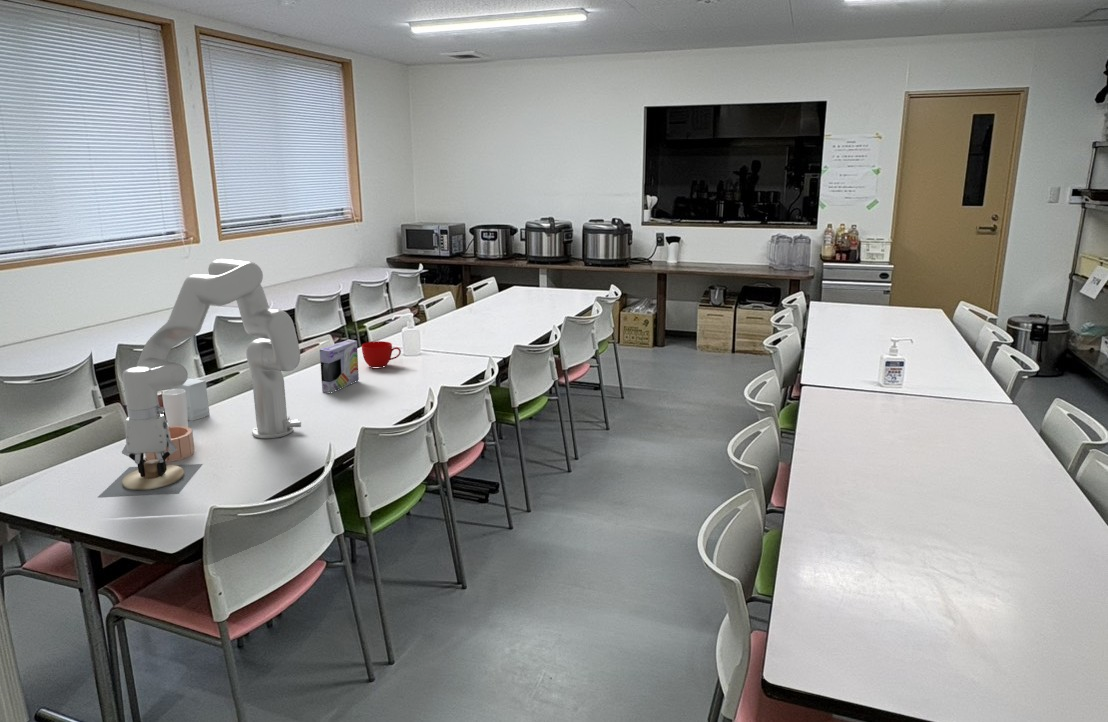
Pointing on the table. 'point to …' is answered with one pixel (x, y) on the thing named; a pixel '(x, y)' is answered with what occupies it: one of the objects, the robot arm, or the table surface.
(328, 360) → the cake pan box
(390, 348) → the ceramic cup
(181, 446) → the bowl
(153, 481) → the lid
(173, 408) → the drinking glass
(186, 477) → the mat
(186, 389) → the supplement box
